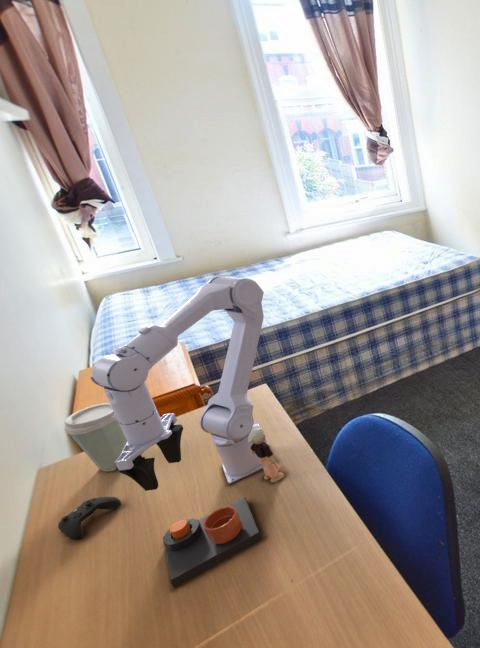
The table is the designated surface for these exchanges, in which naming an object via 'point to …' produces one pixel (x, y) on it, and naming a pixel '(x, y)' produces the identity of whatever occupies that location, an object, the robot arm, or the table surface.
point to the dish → (223, 525)
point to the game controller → (85, 515)
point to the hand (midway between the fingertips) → (163, 474)
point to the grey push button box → (206, 546)
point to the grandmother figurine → (264, 455)
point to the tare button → (179, 529)
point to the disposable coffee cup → (97, 434)
